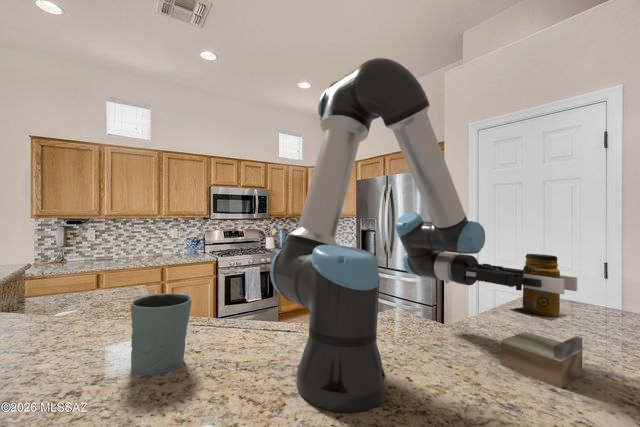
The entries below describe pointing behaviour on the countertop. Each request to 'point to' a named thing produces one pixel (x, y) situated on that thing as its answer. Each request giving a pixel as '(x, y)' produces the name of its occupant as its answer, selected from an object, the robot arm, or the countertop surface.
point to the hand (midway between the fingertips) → (570, 285)
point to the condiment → (537, 300)
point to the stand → (543, 357)
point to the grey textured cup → (159, 332)
